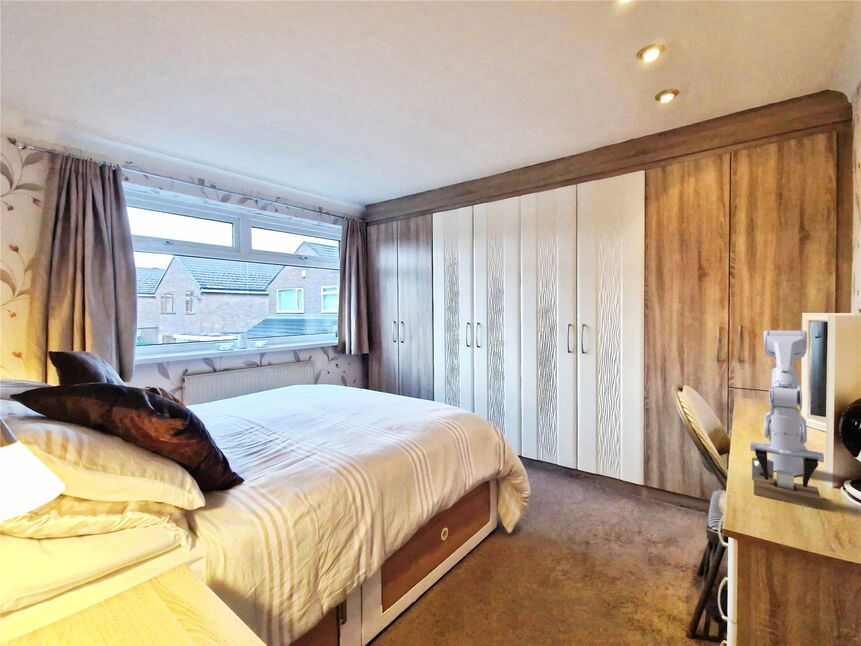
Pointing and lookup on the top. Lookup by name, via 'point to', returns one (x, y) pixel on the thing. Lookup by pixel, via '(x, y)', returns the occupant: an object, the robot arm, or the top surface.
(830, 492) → the top surface
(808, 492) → the bore block
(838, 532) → the top surface
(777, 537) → the top surface
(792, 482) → the square bit
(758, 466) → the round bit
